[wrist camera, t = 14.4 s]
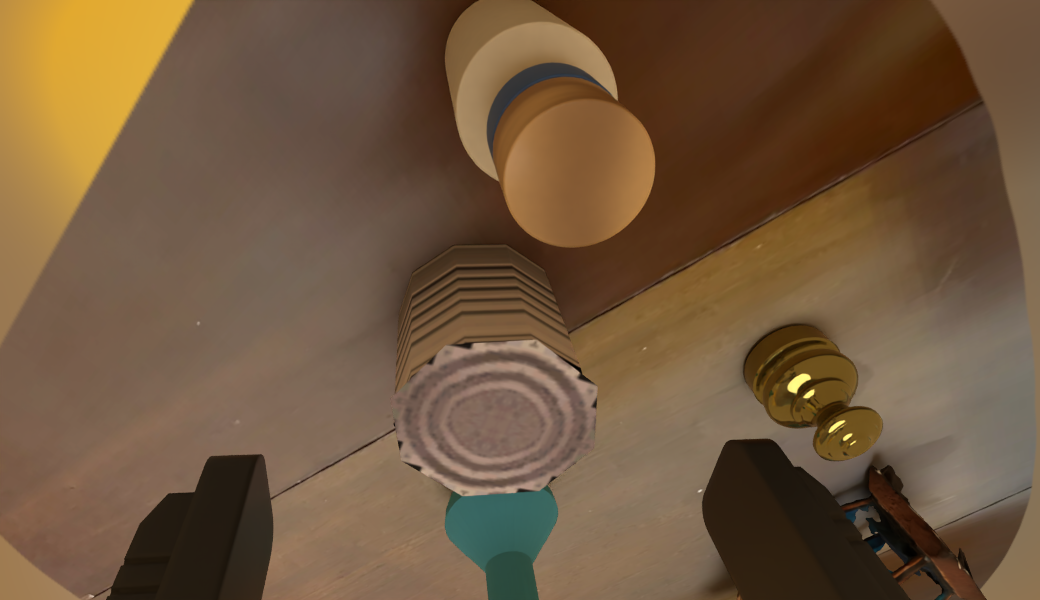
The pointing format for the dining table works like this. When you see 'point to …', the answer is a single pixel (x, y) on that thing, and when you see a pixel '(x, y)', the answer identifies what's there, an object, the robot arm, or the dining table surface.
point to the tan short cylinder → (572, 162)
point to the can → (488, 375)
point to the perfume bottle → (503, 537)
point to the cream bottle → (511, 65)
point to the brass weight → (812, 391)
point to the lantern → (911, 538)
